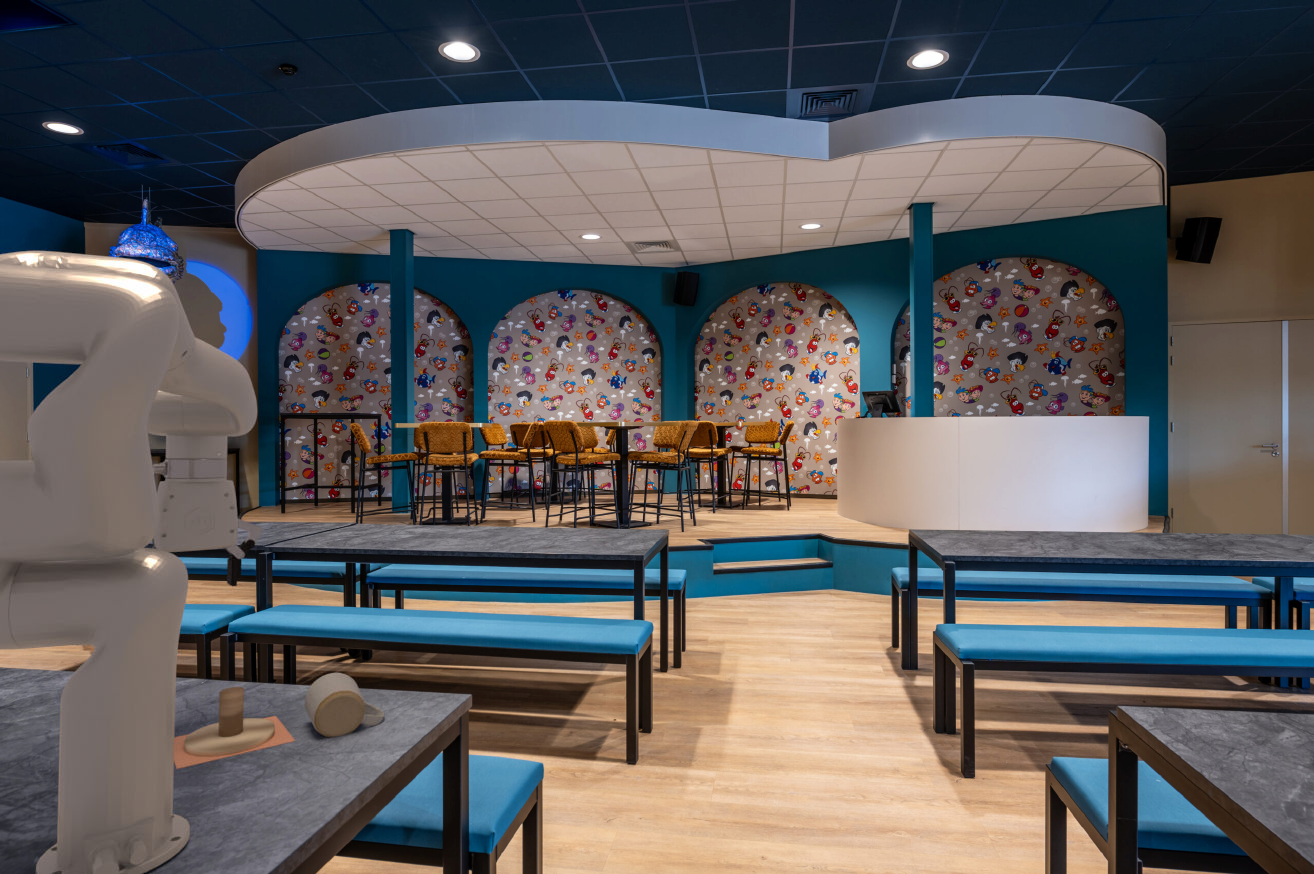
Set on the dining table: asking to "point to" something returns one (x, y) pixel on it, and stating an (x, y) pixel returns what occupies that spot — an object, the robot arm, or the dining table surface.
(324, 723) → the ceramic mug
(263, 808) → the dining table surface
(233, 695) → the lid
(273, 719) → the mat
